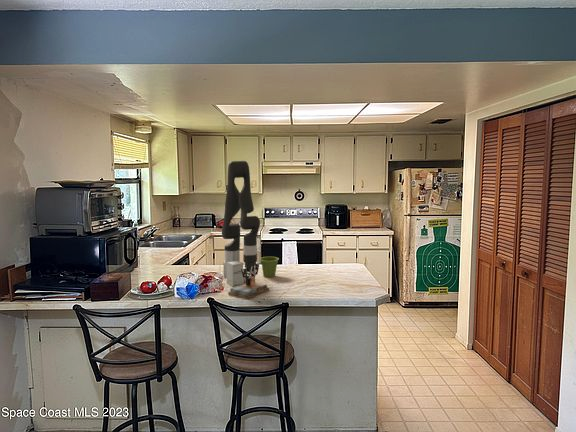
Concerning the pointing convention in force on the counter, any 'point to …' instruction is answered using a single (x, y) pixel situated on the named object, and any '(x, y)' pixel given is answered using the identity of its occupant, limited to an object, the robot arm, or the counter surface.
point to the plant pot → (269, 266)
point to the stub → (251, 283)
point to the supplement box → (234, 273)
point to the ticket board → (259, 291)
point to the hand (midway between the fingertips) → (250, 284)
